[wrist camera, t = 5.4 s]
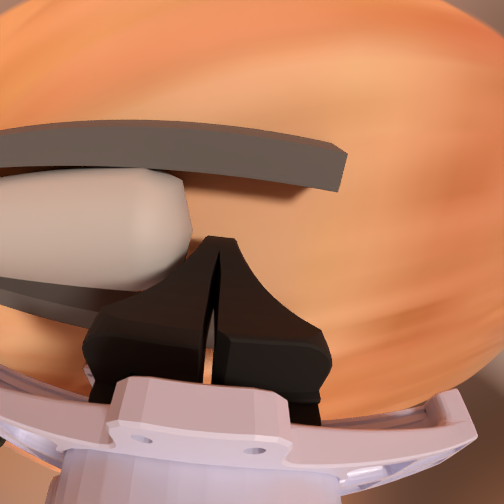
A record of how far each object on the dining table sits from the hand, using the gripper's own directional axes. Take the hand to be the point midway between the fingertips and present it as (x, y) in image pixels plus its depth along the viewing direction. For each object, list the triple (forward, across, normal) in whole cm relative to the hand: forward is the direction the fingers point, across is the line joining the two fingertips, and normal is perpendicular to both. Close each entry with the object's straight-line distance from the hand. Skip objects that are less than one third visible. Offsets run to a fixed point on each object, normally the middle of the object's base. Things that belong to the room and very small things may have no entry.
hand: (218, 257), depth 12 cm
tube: (+2, +14, -1) cm, 14 cm away
